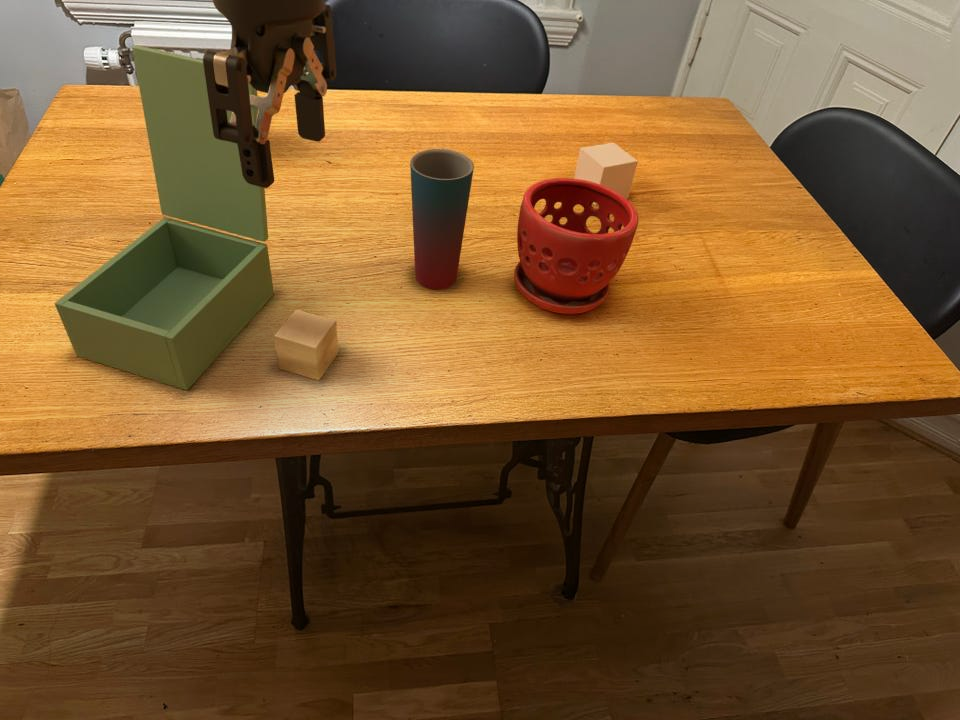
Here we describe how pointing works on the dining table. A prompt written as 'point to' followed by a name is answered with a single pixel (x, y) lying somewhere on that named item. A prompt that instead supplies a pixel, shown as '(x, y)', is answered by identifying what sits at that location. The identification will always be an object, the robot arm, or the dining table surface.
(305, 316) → the wooden block
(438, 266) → the cup
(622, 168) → the beige cube
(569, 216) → the flower pot
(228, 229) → the lunchbox lid
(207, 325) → the box
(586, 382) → the dining table surface
